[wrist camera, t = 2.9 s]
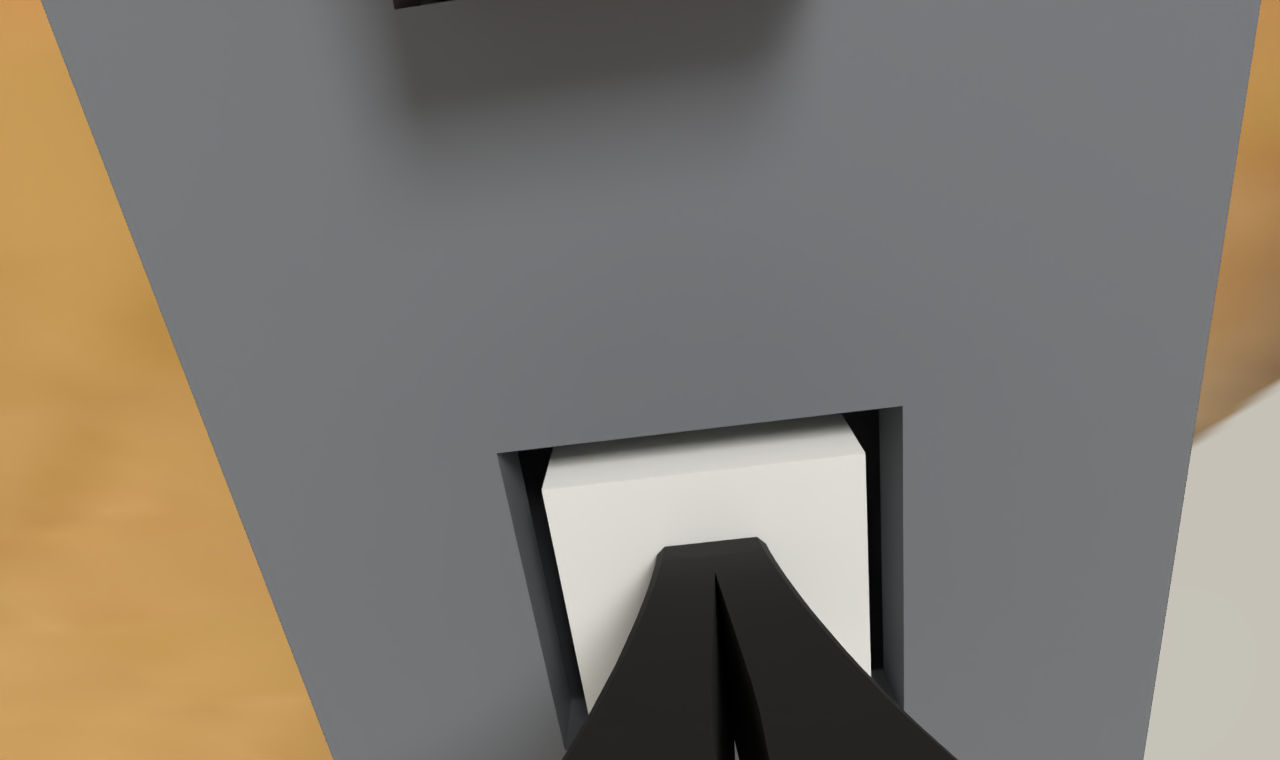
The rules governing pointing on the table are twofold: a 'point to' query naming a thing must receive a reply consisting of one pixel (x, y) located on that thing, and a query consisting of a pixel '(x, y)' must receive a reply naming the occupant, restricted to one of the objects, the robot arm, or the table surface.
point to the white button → (708, 522)
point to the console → (686, 316)
